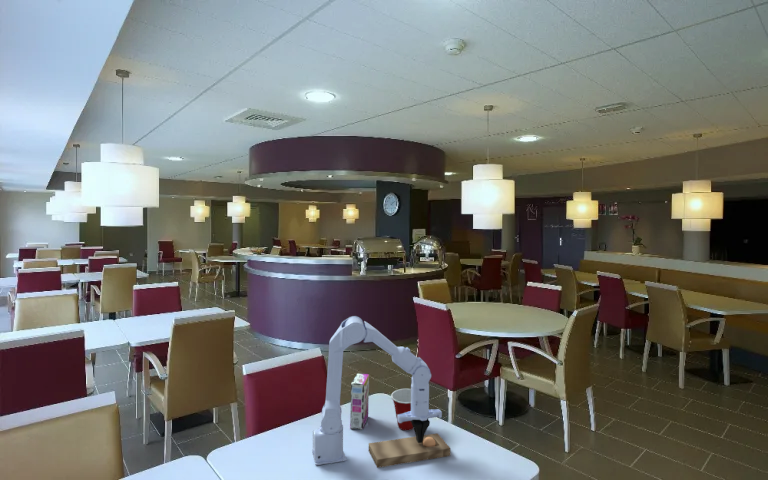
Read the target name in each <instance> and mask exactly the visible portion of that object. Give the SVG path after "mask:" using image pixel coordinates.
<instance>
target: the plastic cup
mask: <svg viewBox="0 0 768 480" xmlns="http://www.w3.org/2000/svg"><path fill="white" fill-rule="evenodd" d="M390 396H391V399H392V401H393V404H394V412H395V416H396V417H395V418H396V419H397V415H398V414H403V413H406V412H409V411H411V388H400V389H396V390H394V391H393V392H392V393H391V394H390ZM396 422H397V423H396V424H397V426H398V428H399V429H400V430H402V431H412V430H414V428H413V425H412V423H411V421H404V422H402V423H399V422H398V421H397V420H396Z"/></svg>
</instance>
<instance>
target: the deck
mask: <svg viewBox="0 0 768 480" xmlns="http://www.w3.org/2000/svg"><path fill="white" fill-rule="evenodd" d="M426 437H432V438H433V439H434V440H435V443H436V445H435V446H432V447H426V448H425V447H424V445H423V442H422V443H418V442H417V440H416V435H415V436H411V437H410V436H409V437H403V438H397V439H388V440H382V441H381V440H380V441H376V442H368V452H369V455H370V457H371V458H372V461H373V463H374V464H375V466H376V468H378V469H379V468H385V467H391V466H395V465H403V464H409V463H414V462H415V463H416V462H421V461H422V462H423V461H427V460H434V459H440V458H445V457H450V456H451V447H450V445H448V444H447V443H446V441H445V440H444V439H443V438H442V437H441V435H440V434H439V433H431V434H425V435H424V438H423V441H424V439H425V438H426Z"/></svg>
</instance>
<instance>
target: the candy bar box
mask: <svg viewBox="0 0 768 480" xmlns="http://www.w3.org/2000/svg"><path fill="white" fill-rule="evenodd" d="M369 389H370V374H368V373H356V375H355V377H354V378H353V379H352V381H351V383H350V418H349V419H350V422H349V423H350V426H349V428H350V429H351V430H361V431H362V430H364V427H365V424H366V422H367V420H368V418H369V397H370V395H369Z"/></svg>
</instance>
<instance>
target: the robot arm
mask: <svg viewBox="0 0 768 480" xmlns="http://www.w3.org/2000/svg"><path fill="white" fill-rule="evenodd" d="M362 341H363V343H374V344H375V345H376V346H378V347H379V348H381V349H382V350H383V351H385V352H386V353H387V354H389V355H390V356H391V360H392V361H391V362H392V363H394V364H395V365H396V366H398V367H399V368H400V369H401V370H403V371H404V372H406V373H407V374H410V375H411V384H410V389H411V411H409V412H406V413H403V414H398V415H397V418H396V422H397V421H398V422H399V423H402V422H404V421H411V423H412V425H413V431H414V434H415V436H416V440H417V442H418V443H422V442H423V438H424V435H426V432H427V430H428V428H429V426H430V425H431V424H430V423H431V421H430V420H429V419H433V418H438V419H440V418H442V417H443V416H442V415H443V412H442V411H441V409H439V408H437V409H432V408H431V409H430V380H431V378H432V373H431V369H430V368H429V366H428V364H427V363H426V362H425V361H424V360H423V359H422V358H421V357H420V356H418V357H417V355H415V354H414V353H412V352H411V349H410V348H409V347H408V346H407V347H404V346H397V345H396V344H394V343H393V342H392V341H391V340H390V339H388V338H387V336H385V335H384V334H382V332H380V331H379V330H378V329H377V328H375V327H374V326H372V324H370V323H368V322H367V321H365V320H364V321H363V319H362V318H361V317H359V316H357V315H352V316H349V317H348V318H346V319H344V320H343V321H341V323H340V325H339V327H338V328H337V330H336V331H335V332H334V334H333V335H332V336H331V338H330V339H329V344H328V345H329V346H328V358H327V360H328V361H327V374H326V375H327V377H326V389H325V401H324V404H323V406H322V409H321V421H320V426H319V428H317V429H314V430H313V431H312V450H311V451H312V456H313V460H314V464H315V466H320V465H327V464H333V463H341V462H345V461H347V457H346V454H345V452H344V425H343V420H342V407H341V393H342V392H341V391H342V390H341V389H342V375H343V361H344V359H343V358H344V351H345V350H346V349H348V348H349V347H350V346H352V345H354V344H355V345H356V344H359V343H360V342H362Z"/></svg>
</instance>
